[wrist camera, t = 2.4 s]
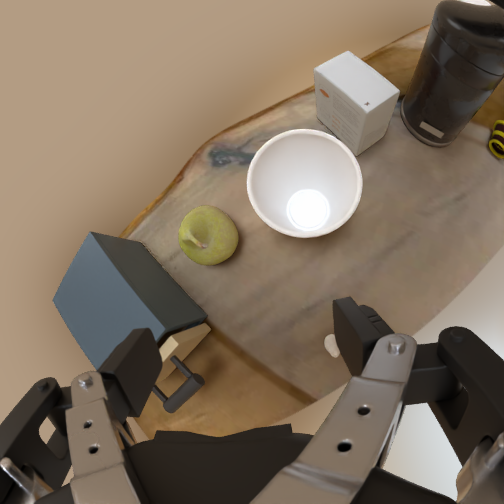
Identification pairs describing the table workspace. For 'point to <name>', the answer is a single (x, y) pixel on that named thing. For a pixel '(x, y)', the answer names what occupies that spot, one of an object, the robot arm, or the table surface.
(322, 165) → the cup
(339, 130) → the small box
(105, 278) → the cabinet
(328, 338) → the chess pawn
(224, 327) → the table surface
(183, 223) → the fruit
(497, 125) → the opera glasses
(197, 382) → the drawer
